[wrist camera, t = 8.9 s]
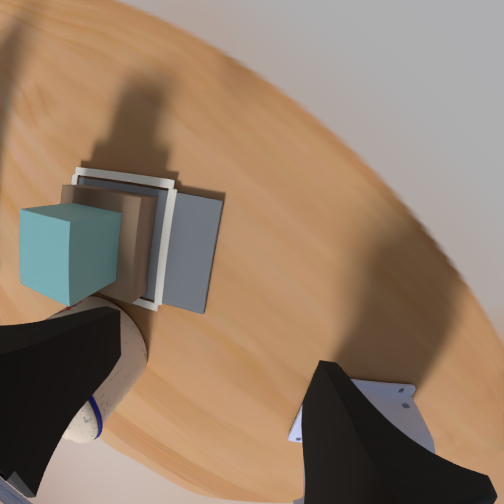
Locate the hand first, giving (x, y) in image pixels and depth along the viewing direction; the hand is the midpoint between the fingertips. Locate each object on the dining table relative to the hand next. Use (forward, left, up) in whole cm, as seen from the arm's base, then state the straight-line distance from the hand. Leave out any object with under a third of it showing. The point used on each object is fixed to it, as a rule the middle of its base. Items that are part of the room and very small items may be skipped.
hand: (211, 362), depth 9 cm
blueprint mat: (+9, -1, -10) cm, 14 cm away
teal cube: (+11, -1, -8) cm, 13 cm away
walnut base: (+11, -1, -10) cm, 15 cm away
